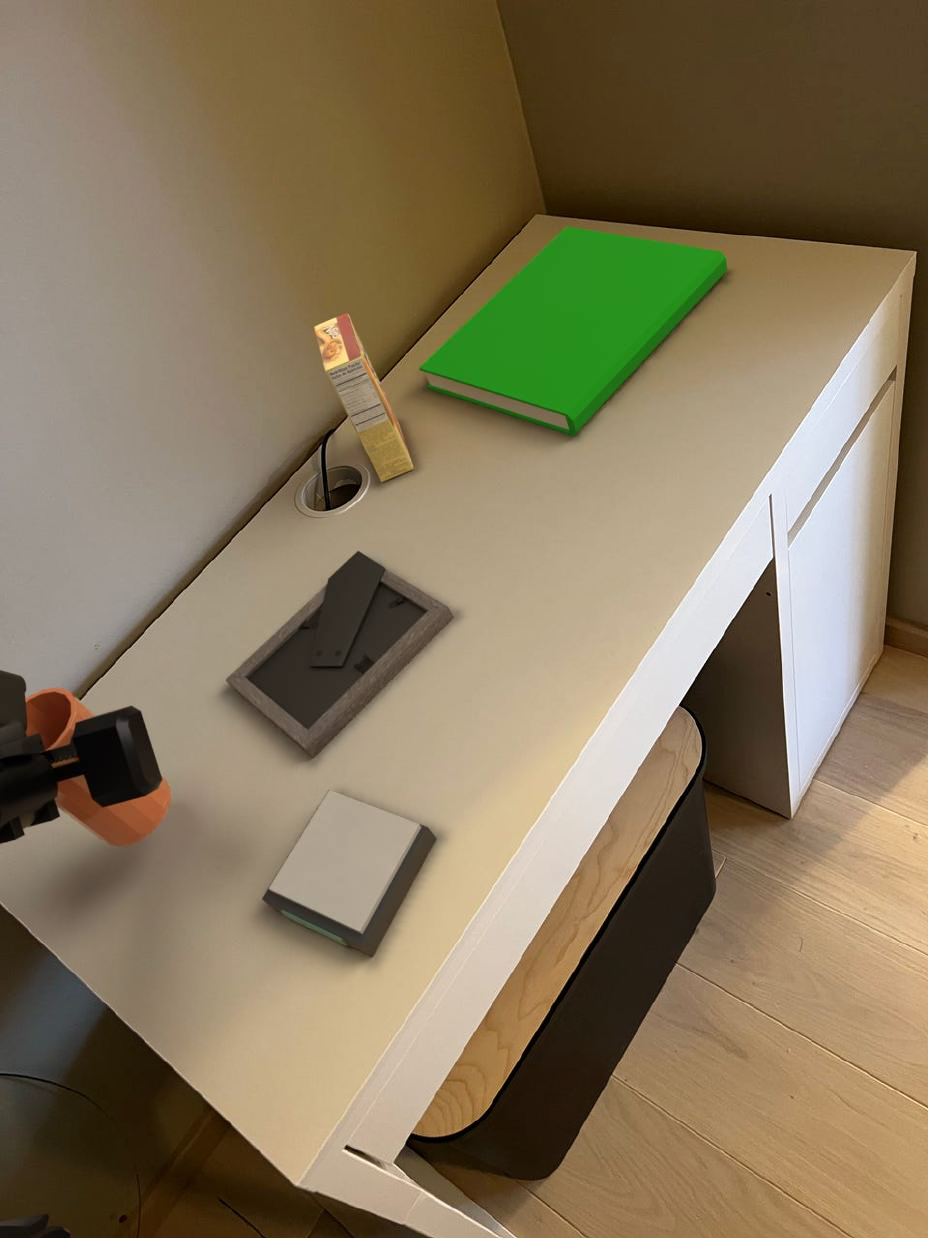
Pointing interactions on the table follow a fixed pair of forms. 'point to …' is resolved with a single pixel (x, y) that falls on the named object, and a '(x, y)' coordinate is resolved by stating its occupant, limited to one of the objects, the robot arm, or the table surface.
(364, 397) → the candy box
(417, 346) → the table surface
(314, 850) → the scale
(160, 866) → the table surface
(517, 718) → the table surface
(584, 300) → the book
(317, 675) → the picture frame
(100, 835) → the cup
